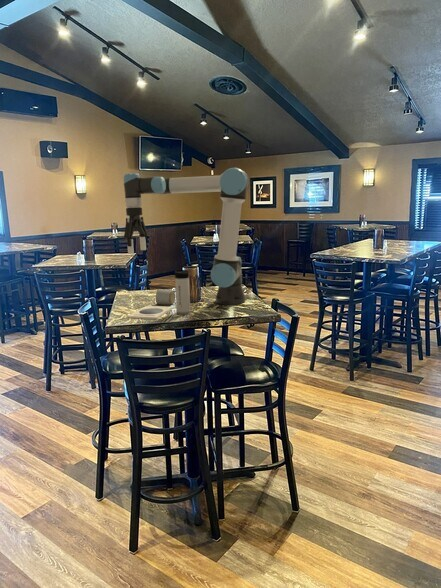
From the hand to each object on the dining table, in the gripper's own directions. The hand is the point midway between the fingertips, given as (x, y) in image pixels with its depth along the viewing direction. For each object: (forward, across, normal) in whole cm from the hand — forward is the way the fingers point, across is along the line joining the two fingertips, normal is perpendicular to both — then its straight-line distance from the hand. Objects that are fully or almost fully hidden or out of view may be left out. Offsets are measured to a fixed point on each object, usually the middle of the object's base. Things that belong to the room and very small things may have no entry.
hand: (137, 251), depth 213 cm
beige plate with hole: (+27, +13, +11) cm, 32 cm away
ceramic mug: (+28, -6, +11) cm, 30 cm away
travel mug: (+28, +11, +26) cm, 40 cm away
